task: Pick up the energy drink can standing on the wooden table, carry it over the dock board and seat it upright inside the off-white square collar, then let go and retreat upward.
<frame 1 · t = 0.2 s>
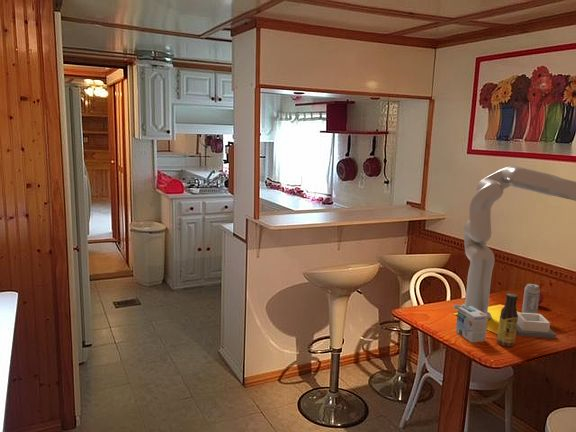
light bulb box: (470, 337, 200), on the table
dock board: (530, 330, 208), on the table
sauce bottle: (505, 344, 194), on the table
onion: (535, 306, 237), on the table
energy drink can: (528, 318, 221), on the table
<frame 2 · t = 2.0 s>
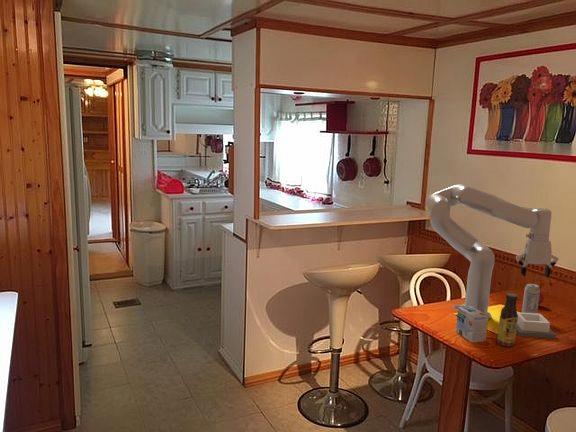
hand: (535, 275, 218), 19 cm above the table, tool pointing down, fingers open, 9 cm apart
nothing on the table moved.
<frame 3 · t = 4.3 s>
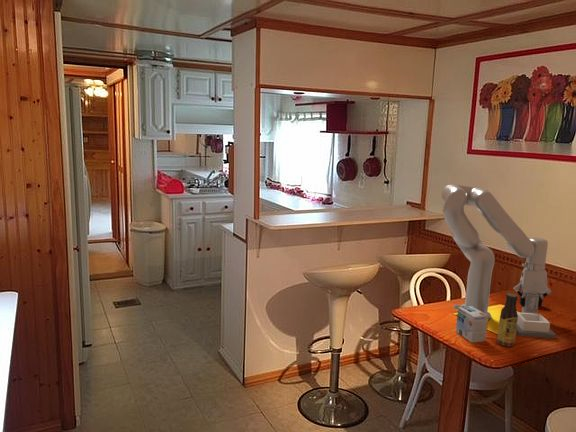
hand: (530, 305, 220), 6 cm above the table, tool pointing down, fingers closed on energy drink can, 6 cm apart
energy drink can: (528, 318, 221), on the table, touching gripper
everything else where it was.
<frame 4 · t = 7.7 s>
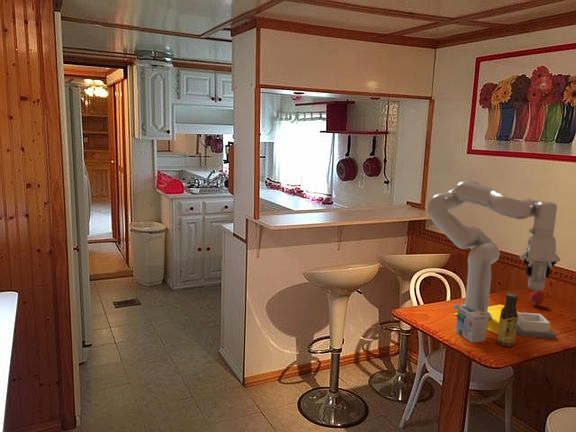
hand: (537, 275, 204), 23 cm above the table, tool pointing down, fingers closed on energy drink can, 6 cm apart
energy drink can: (535, 289, 205), point 18 cm above the table, touching gripper
everything else where it was.
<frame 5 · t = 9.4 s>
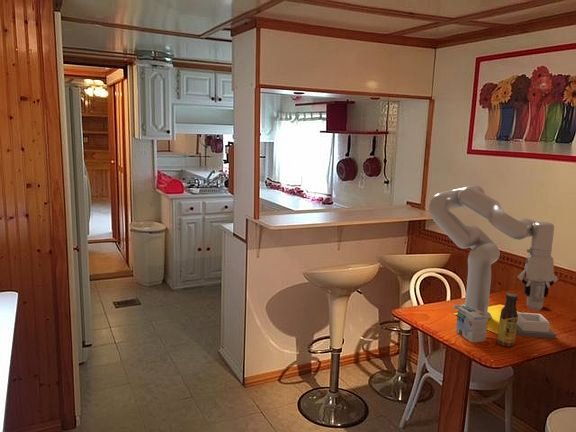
hand: (535, 295, 205), 15 cm above the table, tool pointing down, fingers closed on energy drink can, 6 cm apart
energy drink can: (534, 308, 206), point 9 cm above the table, touching gripper
everything else where it was.
when the fingers open (8 cm above the table, at t = 11.2 s): energy drink can stays where it is, resting on dock board.
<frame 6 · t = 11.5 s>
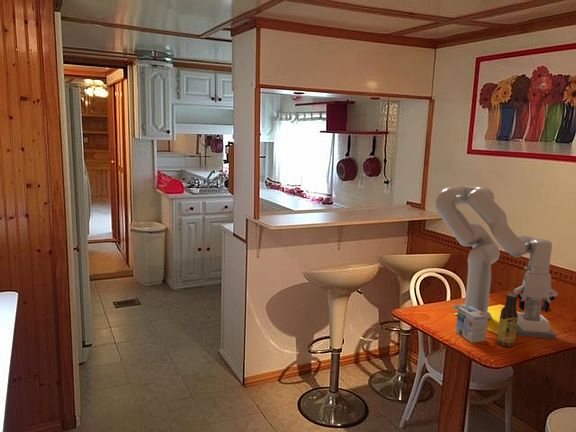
hand: (533, 310, 206), 9 cm above the table, tool pointing down, fingers open, 8 cm apart
energy drink can: (530, 326, 208), point 1 cm above the table, touching dock board
everything else where it was.
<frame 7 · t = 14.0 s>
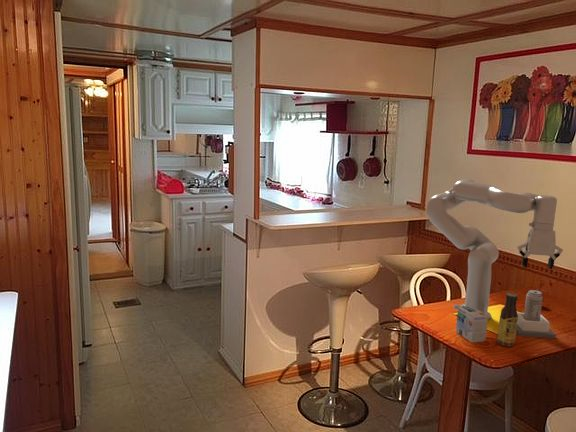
hand: (537, 267, 204), 26 cm above the table, tool pointing down, fingers open, 9 cm apart
nothing on the table moved.
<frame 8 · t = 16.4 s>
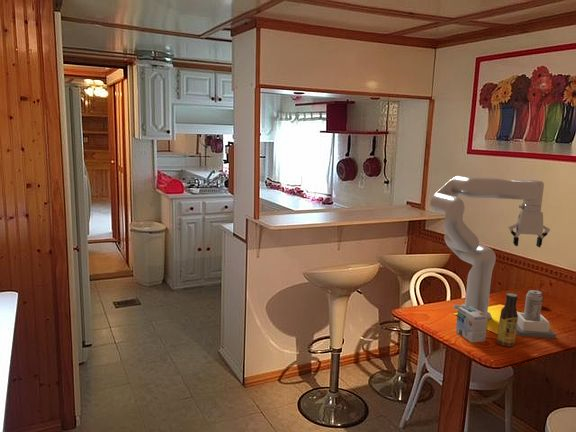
hand: (527, 246, 224), 30 cm above the table, tool pointing down, fingers open, 9 cm apart
nothing on the table moved.
at the end: energy drink can 0.2 cm off-centre on the dock board, point 1.3 cm above the dock board's base; energy drink can tilted 0°; the gripper is holding nothing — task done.
